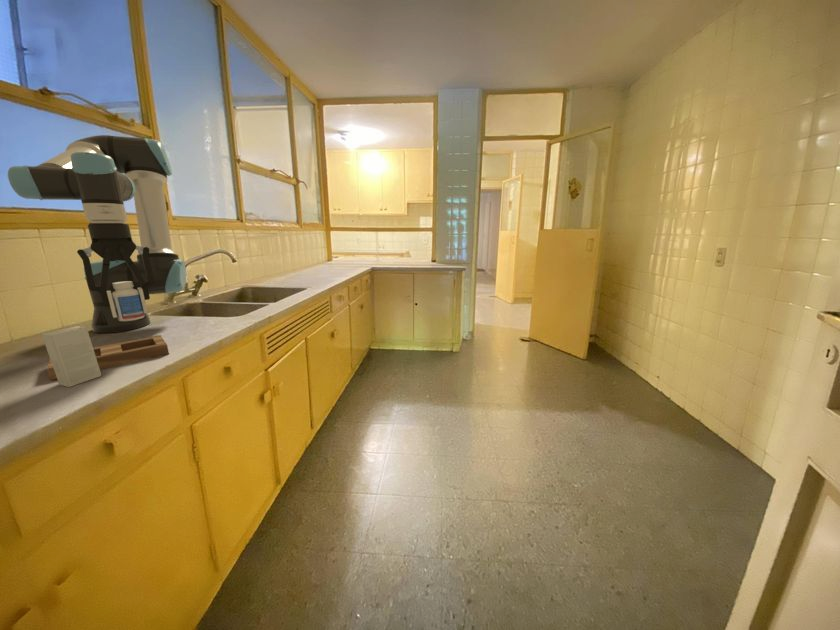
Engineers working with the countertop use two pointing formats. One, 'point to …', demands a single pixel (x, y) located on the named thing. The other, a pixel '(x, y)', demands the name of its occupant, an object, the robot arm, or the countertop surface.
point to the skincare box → (72, 355)
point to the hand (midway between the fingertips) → (130, 314)
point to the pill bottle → (127, 301)
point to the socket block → (125, 352)
